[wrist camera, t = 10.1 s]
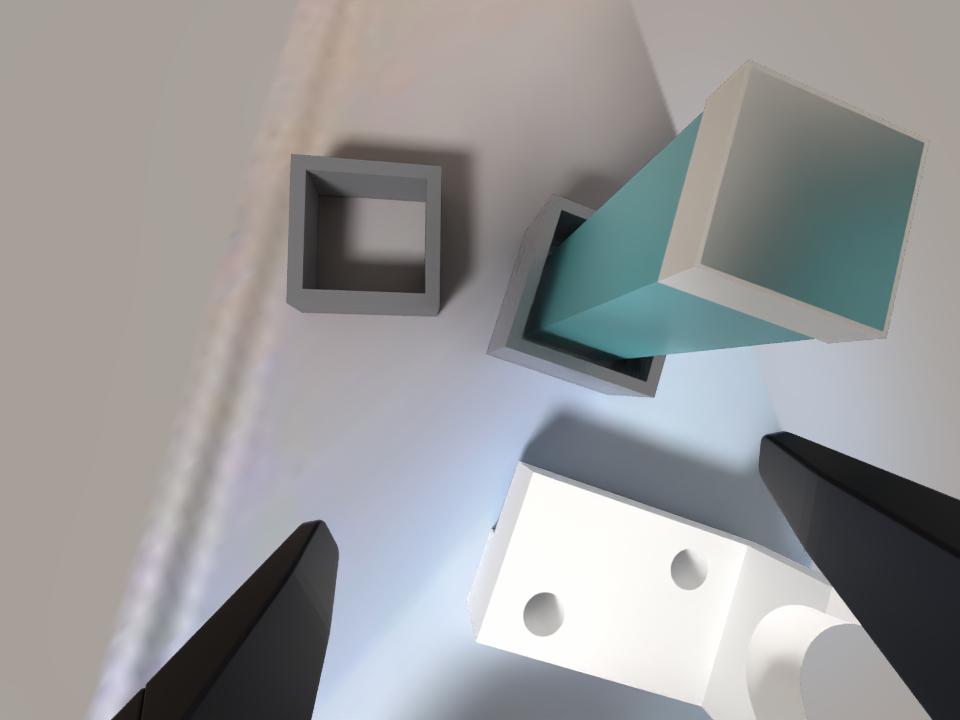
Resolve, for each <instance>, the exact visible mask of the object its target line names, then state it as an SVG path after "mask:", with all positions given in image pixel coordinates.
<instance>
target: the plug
mask: <svg viewBox="0 0 960 720" xmlns="http://www.w3.org/2000/svg"><path fill="white" fill-rule="evenodd" d="M929 141H930V140H928V139H926V138H923V137H921V136H919V135H917V134H915V133H912V132H910V131H908V130H906V129H903V128H901V127H899V126H897V125H894V124H892V123H890V122H888V121H885V120H883V119H881V118H878V117H876V116H874V115H872V114H870V113H867V112H865V111H863V110H861V109H858V108H856V107H854V106H852V105H849V104H847V103H845V102H843V101H840V100H838V99H836V98H834V97H831V96H829V95H827V94H825V93H822V92H820V91H818V90H816V89H813V88H811V87H809V86H807V85H804V84H802V83H800V82H798V81H795V80H793V79H791V78H789V77H786V76H784V75H782V74H779V73H777V72H775V71H773V70H771V69H768V68H766V67H764V66H762V65H759V64H757V63H755V62H753V61H750V60H747V62H745V63H744V65H742V66H741V67H740V68H739V69H738V70H737V71H736V72H735V73H734V74H733V75H732V76H731V77H730V78H729V79H728V80H727V81H726V82H725V83H724V84H723V85H722V86H720V87H719V88H718V89H717V91H715V92H714V93H713V94H712V95H711V96H710V97H709V98H708V99H707V100H706V104H705V108H704V111H703V113H701V114H700V115H699V116H698V117H697V118H696V119H695V120H694V121H693V122H692V123H691V124H690V125H688V126H687V127H686V128H685V129H684V130H683V131H682V132H681V133H680V134H679V135H678V136H677V137H675V138H674V139H673V140H672V141H671V142H670V143H669V144H668V145H667V146H666V147H665V148H664V149H663V150H662V151H660V152H659V153H658V154H657V155H656V156H655V157H654V158H653V159H652V160H651V161H650V162H649V163H648V164H647V165H645V166H644V167H643V168H642V169H641V170H640V171H639V172H638V173H637V174H636V175H635V176H634V177H633V178H632V179H630V180H629V181H628V182H627V183H626V184H625V185H624V186H623V187H622V188H621V189H620V190H619V191H618V192H617V193H615V194H614V195H613V196H612V197H611V198H610V199H609V200H608V201H607V202H606V203H605V204H604V205H603V206H602V207H600V208H599V209H598V210H597V211H596V212H595V213H594V214H593V215H592V216H591V217H590V218H589V219H588V220H587V221H585V222H584V223H583V224H582V225H581V226H580V227H579V228H578V229H577V230H576V231H575V232H574V233H573V234H572V235H570V236H569V237H568V238H567V239H566V240H565V241H564V242H563V243H562V244H561V245H560V246H559V247H558V248H557V249H555V250H554V251H553V252H552V253H551V254H550V255H549V256H548V257H547V259H546V262H545V265H544V269H543V272H542V276H541V279H540V282H539V286H538V289H537V292H536V296H535V299H534V303H533V306H532V309H531V313H530V316H529V319H528V323H527V326H526V330H525V333H524V337H527V338H530V339H533V340H536V341H539V342H542V343H545V344H549V345H552V346H555V347H558V348H561V349H564V350H567V351H570V352H573V353H576V354H579V355H582V356H585V357H588V358H591V359H594V360H597V361H600V362H601V361H610V360H620V359H629V358H639V357H648V356H658V355H667V354H677V353H686V352H696V351H705V350H715V349H724V348H733V347H743V346H752V345H762V344H770V343H781V342H790V341H800V340H809V339H818V340H820V341H823V342H826V343H839V342H850V341H861V340H871V339H883V338H887V333H888V329H889V324H890V320H891V315H892V310H893V306H894V301H895V297H896V292H897V287H898V283H899V278H900V274H901V269H902V264H903V259H904V255H905V251H906V246H907V242H908V237H909V232H910V228H911V223H912V219H913V214H914V209H915V205H916V200H917V195H918V191H919V186H920V181H921V177H922V172H923V168H924V164H925V159H926V154H927V150H928V145H929Z"/></svg>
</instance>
